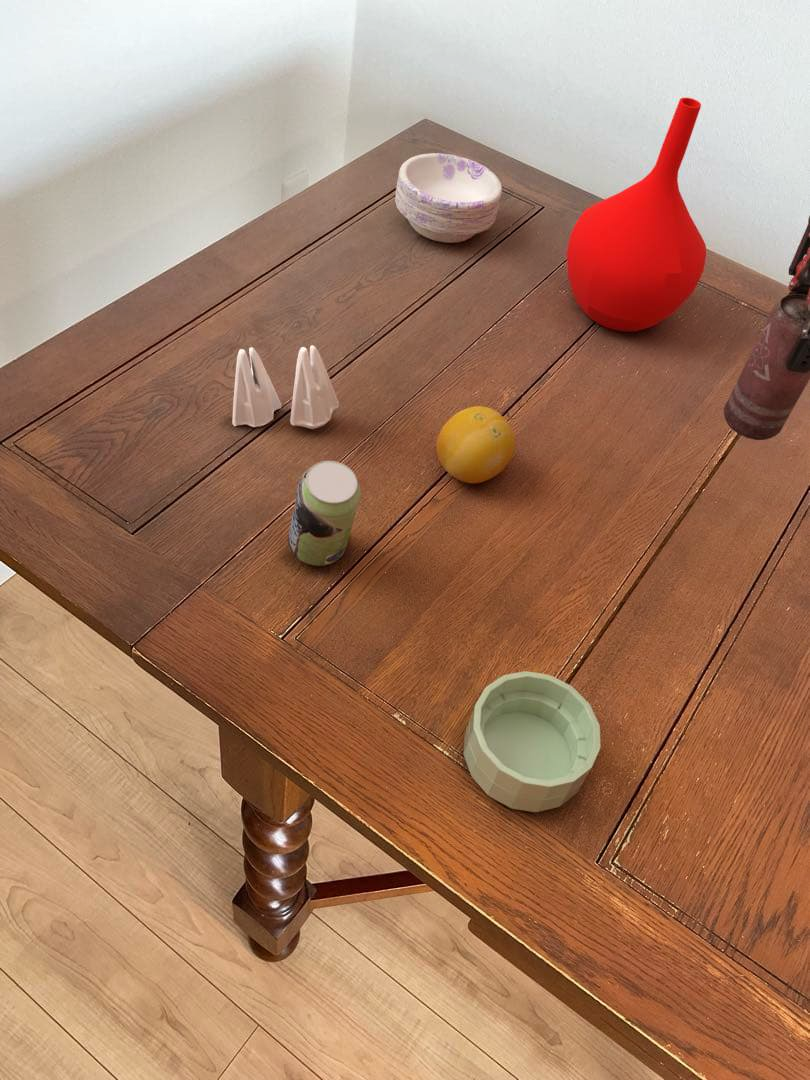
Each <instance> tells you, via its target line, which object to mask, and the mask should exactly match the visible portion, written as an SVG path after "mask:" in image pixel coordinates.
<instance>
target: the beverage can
mask: <svg viewBox="0 0 810 1080" xmlns="http://www.w3.org/2000/svg"><path fill="white" fill-rule="evenodd" d="M297 484H298V485H297V489H296V495H295V500H294V505H293V509H292V516H291V521H290V526H289V531H288V539H287V540H288V546H289V549H290V551H291V552H292V554H293V555H294V556H295V557H296V558H297V559H298V560H300V561H301V562H303V563H305V564H307V565H310V566H316V567H322V566H323V567H325V566H328V565H331V564H333V563H335V562H337V561H338V560H340V558H341V557H342V556H343V555H344V553H345V551H346V548H347V544H348V542H349V538H350V535H351V531H352V527H353V524H354V520H355V517H356V515H357V514H356V513H357V510H358V507H359V504H360V499H361V496H362V495H361V493H362V492H361V486H360V483H359V481H358V479H357V477H356V474H355V473H354V471H353V470H352V469H351V468H350V467H349V466H347V465H346V464H344V463H342V462H339V461H336V460H324V461H323V460H322V461H320V462H317V463H315V464H313V465H312V466H311V467H310V468H308V469H307V470H306V471H305V472H304V473H303V474H302V475H301V477H300V479H299V482H298V483H297Z"/></svg>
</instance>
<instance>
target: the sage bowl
mask: <svg viewBox="0 0 810 1080" xmlns="http://www.w3.org/2000/svg"><path fill="white" fill-rule="evenodd" d="M600 751H601V725H600V723H599V721H598V719H597V717H596V714H595V712H594V710H593V708H592V705H591V704H590V703H589V702H588V701H587V700H586V699H585V698H584V696H582V694H581V693H580V692H578V690H576V688H575V687H574V686H572V685H571V684H569V683H567V682H565V681H563V680H561V679H559V678H557V677H555V676H553V675H551V674H547V673H540V672H534V671H528V670H524V671H518V672H513V673H508V674H503V675H501V676H500V677H499V678H497V679H495V680H494V681H492V682H491V683H490V684H488V685H487V686H485V687H484V689H483V690H482V692H481V694H480V696H479V697H478V699H477V701H476V702H475V704H474V707H473V710H472V712H471V715H470V718H469V721H468V723H467V725H466V729H465V731H464V738H463V757H464V760H465V763H466V765H467V768H468V770H469V773H470V776H471V778H472V779H473V780H474V782H475V783H476V784H477V785H478V786H479V787H480V788H481V789H482V791H483V792H484V793H485V795H486V796H488V797H490V798H492V799H493V800H495V801H497V802H499V803H501V804H503V805H504V806H506V807H507V808H509V809H512V810H518V811H524V812H531V813H540V812H543V811H548V810H552V809H556V808H560V807H562V806H563V804H565V803H566V802H567V801H569V800H570V799H571V798H573V797H574V796H575V795H576V794H577V793H578V792H579V791H580V788H581V787H582V785H583V784H584V782H585V780H586V778H587V777H588V775H589V774H590V771H591V770H592V768H593V766H594V764H595V762H596V759H597V758H598V756H599V753H600Z"/></svg>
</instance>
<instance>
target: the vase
mask: <svg viewBox="0 0 810 1080" xmlns="http://www.w3.org/2000/svg"><path fill="white" fill-rule="evenodd" d="M701 108H702V103H701V102H700V101H698V100H697V99H695V98H692V97H681V98H680V99H679V101H678V103H677V105H676V109H675V111H674V113H673V116H672V118H671V121H670V123H669V127H668V129H667V132H666V134H665V137H664V140H663V143H662V145H661V148H660V151H659V154H658V156H657V160H656V162H655V165H654V167H652V169H651V171H650V172H649V173H648V174H647V175H646V176H645V177H643V178H642V179H641V180H639V181H637V182H636V183H634V184H632V185H630V186H629V187H626V188H625V189H623V190H621V191H620V192H618V193H616V194H613V195H612V196H611V195H610V196H609V197H606V198H605V199H603V200H600V201H598V202H596V203H594V204H592V205H590V206H589V207H586V209H584V210H583V212H582V213H581V215H580V216H579V217H578V219H577V221H576V222H575V225H574V226H573V228H572V230H571V232H570V235H569V239H568V243H567V247H566V265H567V266H566V268H567V269H566V270H567V279H568V283H569V286H570V289H571V292H572V294H573V297H574V300H575V302H576V303H577V305H578V306H579V307H580V309H581V311H583V313H584V314H585V315H586V317H588V318H589V319H590V320H591V321H592V322H594V323H595V324H598V325H599V326H602V327H604V328H606V329H609V330H613V331H616V332H624V333H625V332H626V333H629V332H638V331H641V330H645V329H648V328H651V327H654V326H656V325H658V324H660V323H661V322H662V321H664V320H666V319H667V318H669V317H670V316H671V315H673V314H674V313H676V312H677V311H678V310H679V308H680V307H682V306H683V304H684V303H685V302H686V301H687V300H688V299H689V297H691V295H692V294H694V292H695V290H696V288H697V286H698V284H699V281H700V280H701V278H702V276H703V273H704V270H705V265H706V259H707V258H706V257H707V244H706V242H705V240H704V238H703V236H702V234H701V232H700V231H699V229H698V227H697V225H696V223H695V222H694V219H693V218H692V216H691V215H690V212H689V210H688V208H687V205H686V203H685V200H684V198H683V196H682V193H681V192H680V188H679V181H678V178H679V171H680V168H681V165H682V162H683V160H684V157H685V155H686V152H687V149H688V147H689V143H690V140H691V137H692V134H693V132H694V128H695V126H696V123H697V120H698V116H699V113H700V110H701Z"/></svg>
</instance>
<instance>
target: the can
mask: <svg viewBox="0 0 810 1080" xmlns="http://www.w3.org/2000/svg"><path fill="white" fill-rule="evenodd" d="M806 298H807V295H804V294H791V295H788V294H787V295H785V296H783V297H782V298H781V299H780V300H779V301H777V302H776V303H774V305H773V307H772V309H771V311H770V313H769V315H768V317H767V319H766V321H765V324H764V325H763V327H762V329H761V332H760V334H759V335H758V338H757V340H756V342H755V343H754V346H753V348H752V350H751V352H750V353H749V356H748V358H747V361H746V362H745V364H744V366H743V368H742V370H741V372H740V375H739V376H738V378H737V380H736V382H735V384H734V387H733V389H732V391H731V393H730V395H729V397H728V399H727V401H726V403H725V405H724V407H723V416H724V420H725V422H726V424H727V425H728V427H730V429H731V430H732V431H734V432H735V433H736V434H738V435H740V436H742V437H744V438H746V439H749V440H754V441H764V440H765V441H766V440H769V439H772V438H774V437H776V436H777V435H779V434H780V433H781V431H782V429H783V427H784V426H785V425H786V422H787V420H788V419H789V417H790V415H791V414H792V412H793V410H794V408H795V406H796V405H797V403H798V401H799V399H800V397H801V395H802V394H803V392H804V390H805V389H806V387H807V385H808V383H809V381H810V371H808V372H807V373H800V372H794V371H789V370H787V368H786V360H787V358H788V356H789V354H790V353H791V351H792V349H793V347H794V345H795V343H796V341H797V339H798V337H799V335H800V334H801V332H802V329H803V326H804V323H805V320H806V316H807V312H806V311H805V309H804V305H805V301H806Z"/></svg>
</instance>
